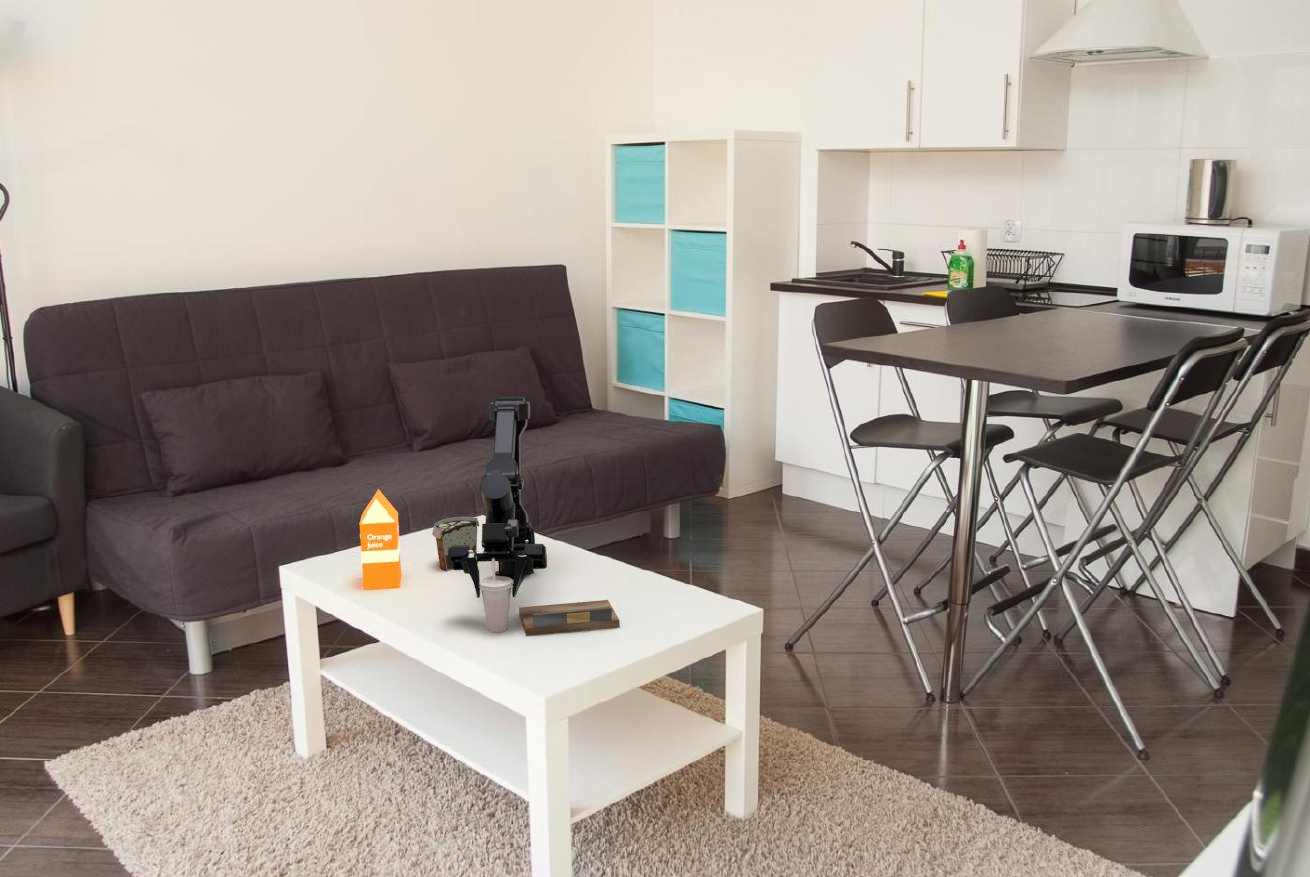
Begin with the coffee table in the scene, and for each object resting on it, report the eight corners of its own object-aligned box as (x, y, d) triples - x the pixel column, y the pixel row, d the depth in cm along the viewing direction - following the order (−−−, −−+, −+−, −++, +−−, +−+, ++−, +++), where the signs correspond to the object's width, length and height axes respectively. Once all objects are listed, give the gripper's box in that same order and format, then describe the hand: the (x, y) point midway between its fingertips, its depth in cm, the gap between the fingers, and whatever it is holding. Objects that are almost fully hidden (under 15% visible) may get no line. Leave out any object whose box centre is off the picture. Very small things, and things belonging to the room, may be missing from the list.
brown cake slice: (461, 555, 272) (459, 513, 270) (480, 559, 269) (479, 517, 267) (422, 568, 263) (420, 525, 261) (441, 573, 259) (439, 529, 257)
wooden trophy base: (519, 614, 233) (518, 595, 232) (607, 606, 236) (607, 588, 236) (526, 636, 221) (525, 616, 220) (619, 628, 225) (619, 608, 224)
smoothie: (501, 620, 229) (498, 552, 226) (521, 628, 225) (518, 559, 222) (474, 629, 225) (471, 559, 222) (494, 637, 220) (491, 566, 218)
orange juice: (402, 575, 258) (397, 487, 254) (400, 588, 249) (395, 497, 245) (365, 577, 257) (360, 489, 253) (362, 590, 248) (357, 499, 244)
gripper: (446, 505, 224) (440, 578, 215) (544, 503, 224) (542, 576, 216) (454, 533, 233) (448, 604, 224) (548, 531, 233) (546, 603, 225)
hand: (495, 596), depth 222 cm, fingers closed on smoothie, 6 cm apart
